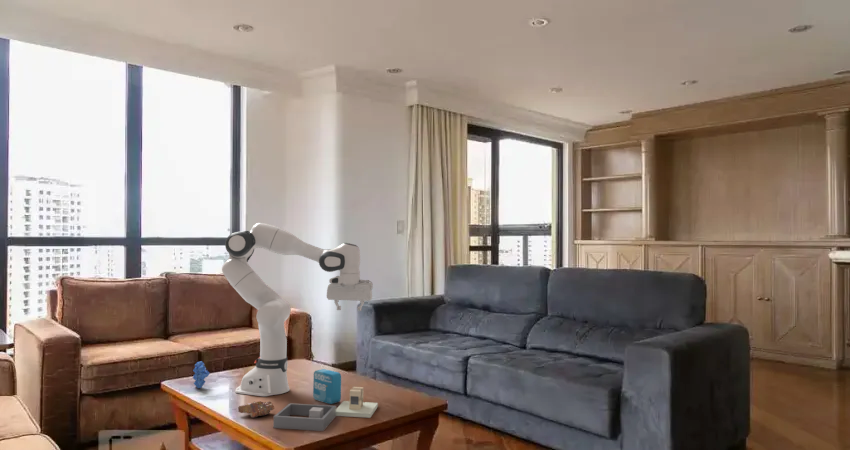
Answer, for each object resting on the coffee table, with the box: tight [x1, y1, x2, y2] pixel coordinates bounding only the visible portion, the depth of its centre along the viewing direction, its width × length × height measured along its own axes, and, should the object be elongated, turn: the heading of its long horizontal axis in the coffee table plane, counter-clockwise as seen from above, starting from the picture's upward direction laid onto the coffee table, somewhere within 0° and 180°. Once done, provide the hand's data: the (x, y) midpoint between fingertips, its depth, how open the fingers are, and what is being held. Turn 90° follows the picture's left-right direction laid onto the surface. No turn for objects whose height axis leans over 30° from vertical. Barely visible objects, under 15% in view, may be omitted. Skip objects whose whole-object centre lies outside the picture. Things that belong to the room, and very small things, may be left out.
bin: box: [272, 402, 337, 432], centre depth 211 cm, size 18×16×4 cm
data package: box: [312, 368, 342, 405], centre depth 238 cm, size 12×4×12 cm, turn 51°
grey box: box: [308, 407, 324, 418], centre depth 211 cm, size 4×4×5 cm
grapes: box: [192, 360, 211, 389], centre depth 253 cm, size 12×7×12 cm, turn 37°
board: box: [336, 400, 379, 419], centre depth 225 cm, size 14×14×2 cm
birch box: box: [348, 386, 364, 410], centre depth 225 cm, size 6×4×7 cm, turn 173°
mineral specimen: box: [237, 400, 275, 419], centre depth 218 cm, size 12×8×7 cm
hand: (349, 310), depth 260 cm, fingers open, 8 cm apart
